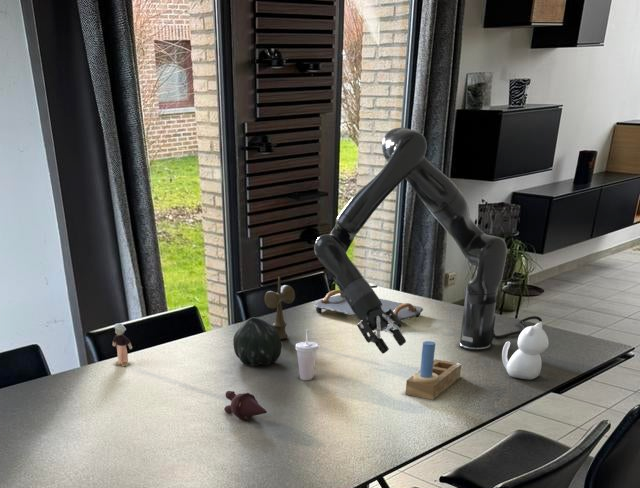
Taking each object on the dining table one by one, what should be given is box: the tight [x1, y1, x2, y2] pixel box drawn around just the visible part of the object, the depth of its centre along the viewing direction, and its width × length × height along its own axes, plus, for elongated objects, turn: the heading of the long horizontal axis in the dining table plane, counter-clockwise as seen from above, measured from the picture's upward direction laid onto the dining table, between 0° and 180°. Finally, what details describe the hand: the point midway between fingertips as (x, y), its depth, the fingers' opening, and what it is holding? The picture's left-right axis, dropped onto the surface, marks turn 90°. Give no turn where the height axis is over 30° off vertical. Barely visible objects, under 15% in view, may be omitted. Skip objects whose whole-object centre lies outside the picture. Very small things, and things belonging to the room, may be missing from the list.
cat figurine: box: [501, 321, 550, 381], centre depth 203 cm, size 9×12×15 cm
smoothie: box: [295, 328, 319, 381], centre depth 206 cm, size 6×6×14 cm
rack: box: [405, 358, 462, 401], centre depth 201 cm, size 20×8×4 cm, turn 146°
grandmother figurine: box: [112, 323, 133, 367], centre depth 221 cm, size 8×4×13 cm, turn 68°
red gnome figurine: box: [223, 390, 268, 421], centre depth 184 cm, size 7×7×15 cm
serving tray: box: [313, 289, 424, 324], centre depth 263 cm, size 39×23×6 cm, turn 45°
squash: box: [232, 316, 283, 367], centre depth 219 cm, size 14×15×15 cm
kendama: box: [264, 276, 296, 341], centre depth 238 cm, size 6×10×20 cm, turn 141°
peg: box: [413, 340, 438, 383], centre depth 194 cm, size 6×6×13 cm
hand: (394, 347), depth 199 cm, fingers open, 8 cm apart
